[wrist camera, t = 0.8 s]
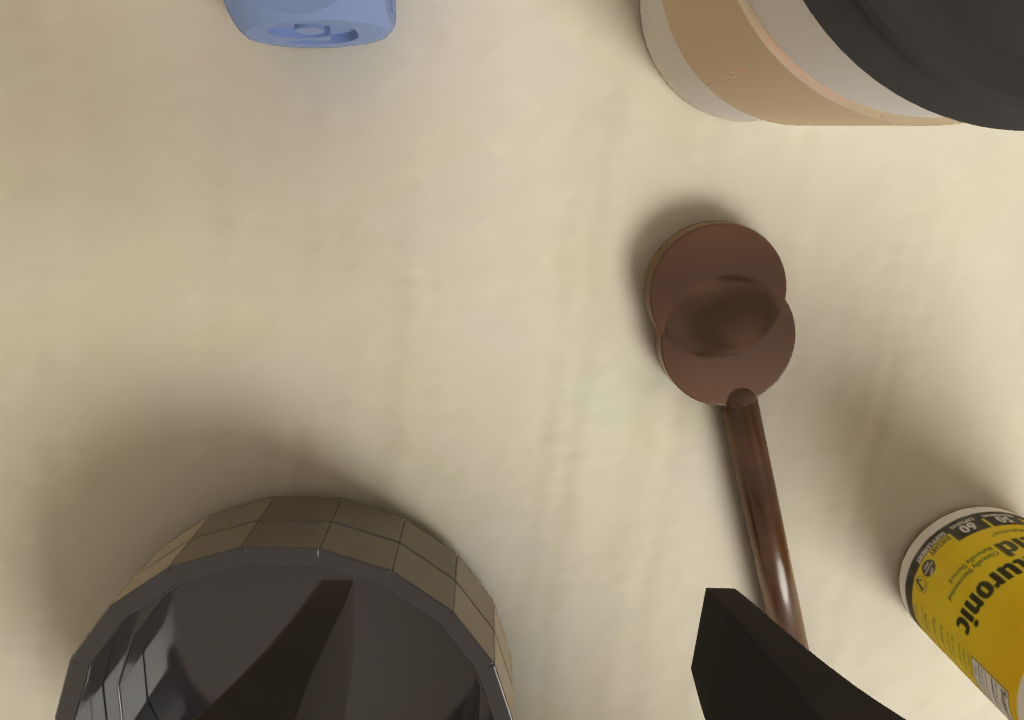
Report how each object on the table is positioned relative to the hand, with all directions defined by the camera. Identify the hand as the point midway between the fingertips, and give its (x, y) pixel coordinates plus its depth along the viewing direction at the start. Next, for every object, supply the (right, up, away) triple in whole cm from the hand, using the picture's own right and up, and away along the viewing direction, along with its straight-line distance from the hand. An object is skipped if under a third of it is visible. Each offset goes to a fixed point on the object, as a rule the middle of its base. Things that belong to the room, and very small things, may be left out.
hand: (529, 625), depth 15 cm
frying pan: (-8, -6, +12) cm, 16 cm away
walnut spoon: (+8, +1, +11) cm, 13 cm away
